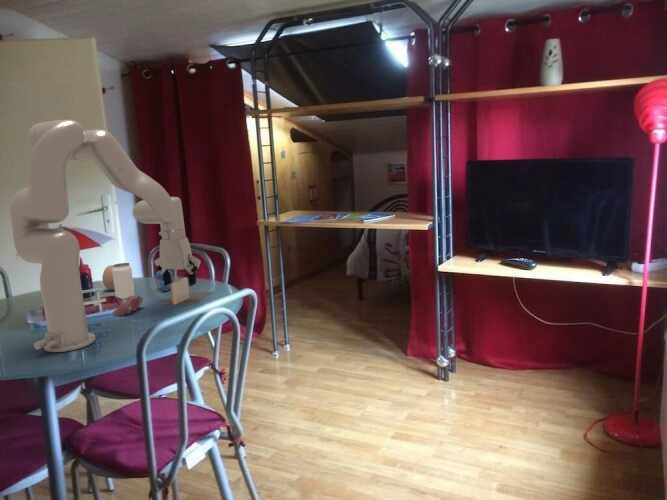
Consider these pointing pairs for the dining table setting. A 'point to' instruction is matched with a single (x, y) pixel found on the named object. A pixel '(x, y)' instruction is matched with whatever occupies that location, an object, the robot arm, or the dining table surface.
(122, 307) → the red lumpy clump
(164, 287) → the grapes
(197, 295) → the mat
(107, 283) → the egg
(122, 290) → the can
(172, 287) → the tile
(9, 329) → the dining table surface
